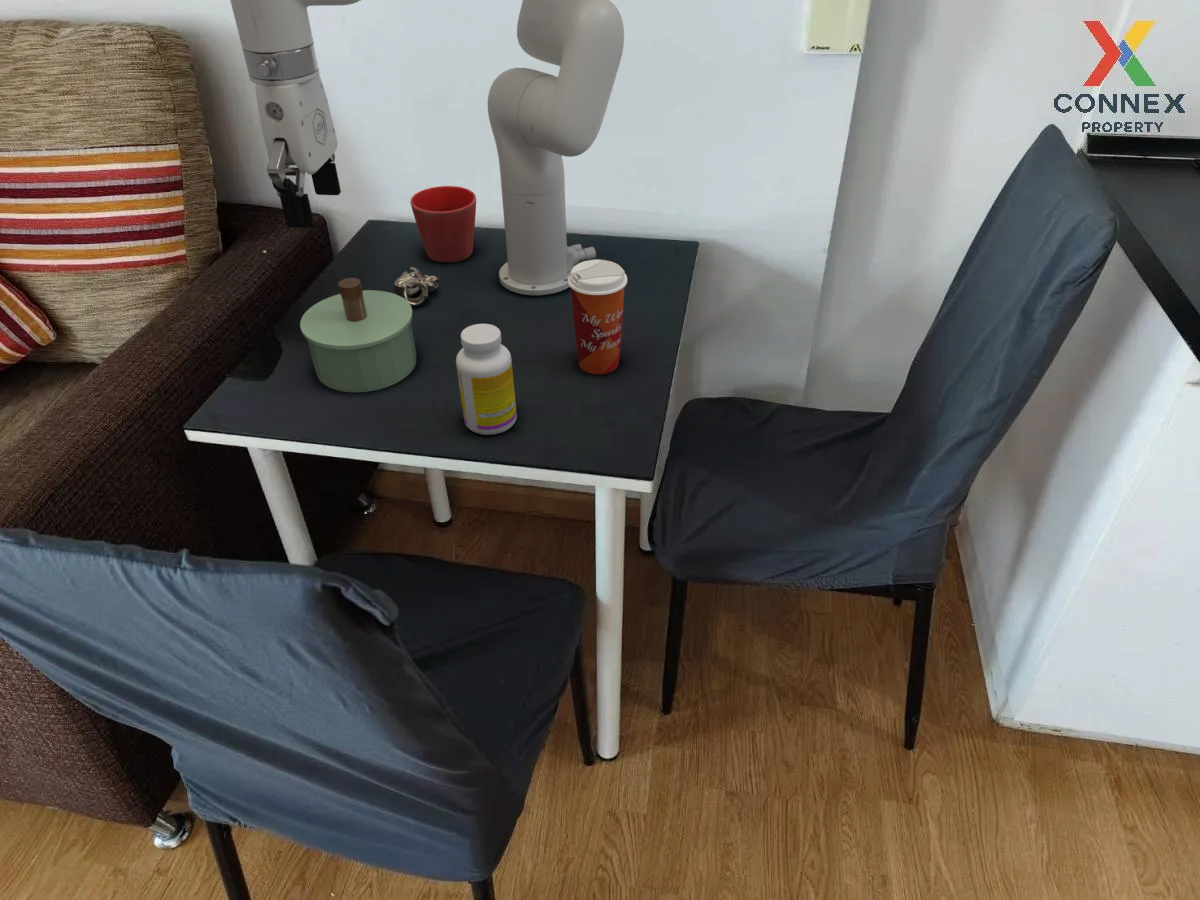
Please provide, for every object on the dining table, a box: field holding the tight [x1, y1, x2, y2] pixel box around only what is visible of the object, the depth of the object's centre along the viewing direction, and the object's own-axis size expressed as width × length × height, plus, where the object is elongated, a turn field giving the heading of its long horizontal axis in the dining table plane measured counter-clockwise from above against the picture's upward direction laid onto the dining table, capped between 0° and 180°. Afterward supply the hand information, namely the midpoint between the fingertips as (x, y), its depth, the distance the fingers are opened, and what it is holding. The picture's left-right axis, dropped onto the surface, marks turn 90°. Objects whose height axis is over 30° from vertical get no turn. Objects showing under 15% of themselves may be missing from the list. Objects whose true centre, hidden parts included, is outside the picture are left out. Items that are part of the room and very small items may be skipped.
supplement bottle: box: [455, 323, 518, 436], centre depth 105 cm, size 7×7×13 cm
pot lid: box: [299, 277, 414, 350], centre depth 113 cm, size 15×15×6 cm
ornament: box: [394, 266, 440, 307], centre depth 133 cm, size 8×7×4 cm
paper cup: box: [568, 259, 628, 375], centre depth 115 cm, size 8×8×14 cm
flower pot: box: [410, 185, 477, 264], centre depth 143 cm, size 11×11×10 cm
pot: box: [307, 322, 417, 393], centre depth 117 cm, size 14×14×7 cm
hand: (315, 209), depth 106 cm, fingers open, 9 cm apart
